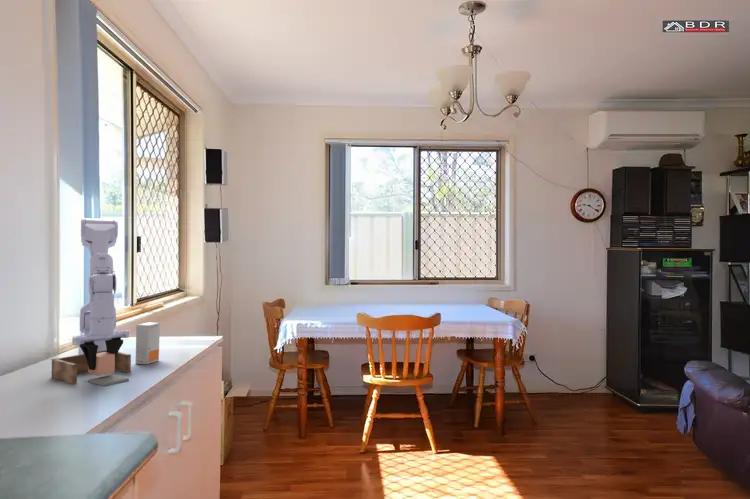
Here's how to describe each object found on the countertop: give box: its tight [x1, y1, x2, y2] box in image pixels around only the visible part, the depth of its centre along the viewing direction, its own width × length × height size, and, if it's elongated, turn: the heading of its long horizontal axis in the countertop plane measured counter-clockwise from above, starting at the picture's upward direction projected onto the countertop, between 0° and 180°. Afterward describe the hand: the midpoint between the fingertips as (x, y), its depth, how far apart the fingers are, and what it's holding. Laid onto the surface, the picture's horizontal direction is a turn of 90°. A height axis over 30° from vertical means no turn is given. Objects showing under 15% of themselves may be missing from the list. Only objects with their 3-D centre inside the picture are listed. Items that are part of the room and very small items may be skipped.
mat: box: [88, 373, 130, 387], centre depth 138 cm, size 7×7×1 cm
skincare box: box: [135, 321, 161, 365], centre depth 160 cm, size 6×4×12 cm
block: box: [87, 352, 116, 377], centre depth 140 cm, size 5×4×5 cm
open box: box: [51, 350, 132, 385], centre depth 144 cm, size 11×16×5 cm
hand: (101, 367), depth 140 cm, fingers closed on block, 4 cm apart
